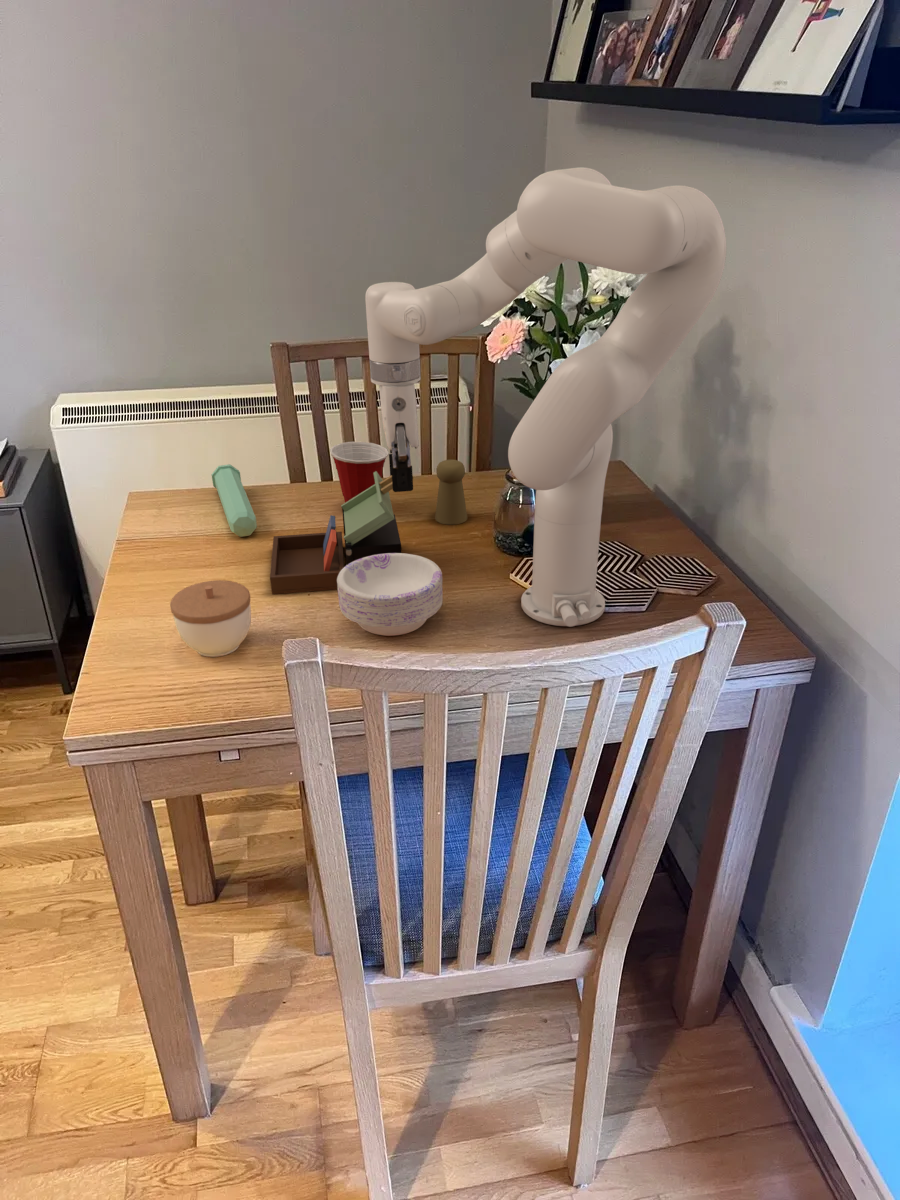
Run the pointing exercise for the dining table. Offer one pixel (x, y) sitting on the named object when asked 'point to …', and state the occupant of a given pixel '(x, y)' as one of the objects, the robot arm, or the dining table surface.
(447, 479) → the pepper mill
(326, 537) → the blue sachet
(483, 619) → the dining table surface
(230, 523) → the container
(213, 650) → the trinket box
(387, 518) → the green handled tray
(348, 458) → the plastic cup
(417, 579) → the paper bowls
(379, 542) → the stand
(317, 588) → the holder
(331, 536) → the coral sachet
